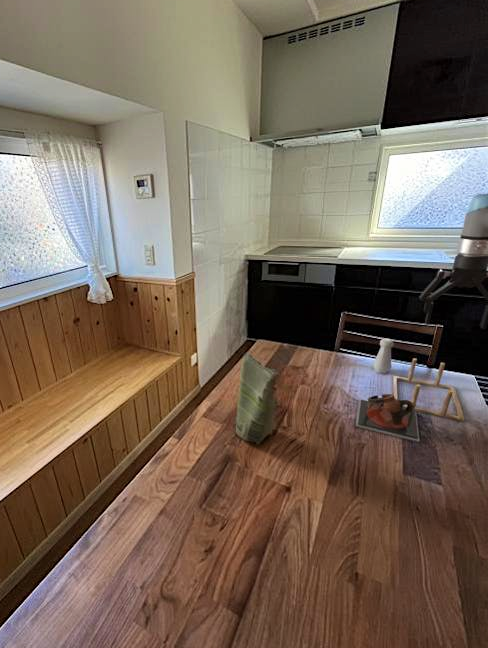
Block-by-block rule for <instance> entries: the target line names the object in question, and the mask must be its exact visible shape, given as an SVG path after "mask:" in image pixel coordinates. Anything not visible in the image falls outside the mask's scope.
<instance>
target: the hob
mask: <svg viewBox="0 0 488 648" xmlns="http://www.w3.org/2000/svg"><path fill="white" fill-rule="evenodd" d="M367 404H368V400H365V399H359V400H358V405H357V411H356V412H357V413H356V420H355V428H360V429H364V430H367V431H372V432H375V433H379V434H383V435H388V436H391V437H396V438H400V439H403V440H407V441H411V442H415V443H420V441H421V440H420V433H419V423H418V422H419V421H418V414H417V411H414V410H412V411H411V412H410V413H409V414H407V415H405V416H404V417H403V419H402V423H401V424H399V425H395V426H386V423H385V419H390V418H392V416H391V414H390V412H388V411H387V410H386V409H385V405H384V406H383V407H380V410H376V409H375V407H373V405H372V406H371V407H370V409H368V406H367ZM402 409H403V410H405V409H404V408H402Z"/></svg>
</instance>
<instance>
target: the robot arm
mask: <svg viewBox="0 0 488 648" xmlns="http://www.w3.org/2000/svg"><path fill="white" fill-rule="evenodd" d="M466 209H467V210H466V211H465V217H464V221H463V225H462V229H461V234H460V237H459V242H458V246H457V248H456V252H457V253H456V255H455V257H454V261H453V264H452V268H451V270H450V271H447V270H443V269H439V270H437V274H436V276H435V277H434V279H433V280H432V281H430V283H429V284H428V285H427V286H426V288H425V289H424V290H423V291H422V292H421V294H420V295H419V296H418V298H419V300H420V301H421V302H424V305H423V306H424V307H423V313H424V314H426V315H425V320H424V322H425V324H426V325H430V323H431V319H432V314H433V310H434V305H435V303H434V301H436V300H437V299H438V298H440V297H441V296H442V295H444V294H445V293H447V292H448V291H450V290H451V289H453V288H455V287H457V288H469V289H473V288H475V287H476V288H477V289H478V291H479V292H480V293H481V294H482V296H483V297H484V298H485V299H486V301H487V302H488V290H487V288H485V286H484V285H483V283H482V282H483V281H484V280H485V279H487V278H488V271H487V270H488V193H480V194H479V193H478V194H475V195H473V196H472V197H471V198H470V200H469V204H468V206H467V208H466ZM447 277H449V278H450V279H449V280H448V281H447V282H446V283H444V285H442V286H441V287H439V288H438V289H437V290H436V291H434V290H435V289H436V288H437V287H438V285H439V284H441V282H442V280H443V279H446V278H447ZM479 326H480V328H481V329H482V330H487V328H488V327H487V326H488V304H485V307H484V311H483V314H482V317H481V321H480V324H479Z"/></svg>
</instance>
